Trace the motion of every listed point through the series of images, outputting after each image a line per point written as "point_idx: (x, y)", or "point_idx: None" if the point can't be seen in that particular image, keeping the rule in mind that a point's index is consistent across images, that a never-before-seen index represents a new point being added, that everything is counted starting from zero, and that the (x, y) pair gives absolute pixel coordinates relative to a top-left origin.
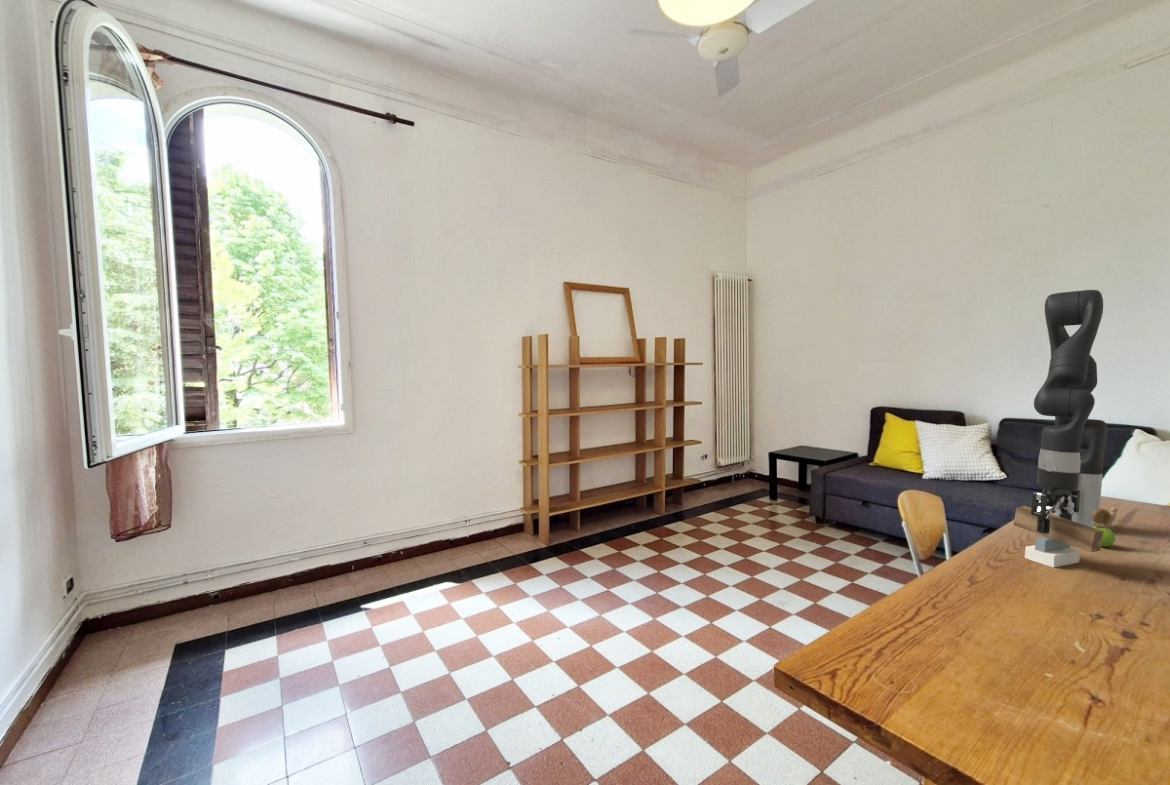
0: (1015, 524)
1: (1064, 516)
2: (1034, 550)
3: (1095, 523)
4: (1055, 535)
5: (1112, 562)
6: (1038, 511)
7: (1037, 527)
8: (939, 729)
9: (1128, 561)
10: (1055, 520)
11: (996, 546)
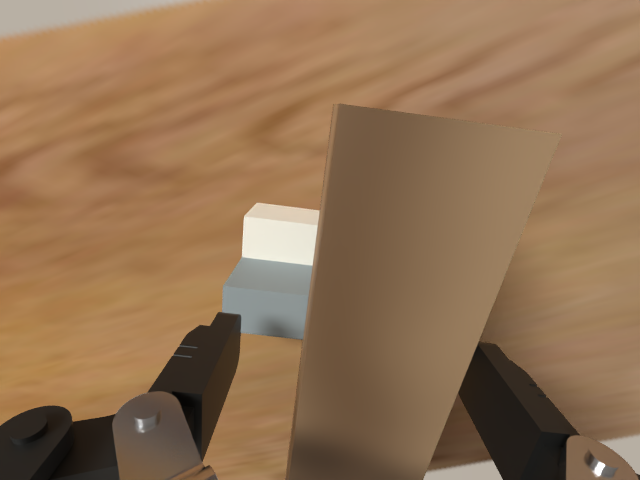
0: (331, 119)
1: (516, 450)
2: (243, 254)
3: None
4: (300, 363)
5: (531, 366)
6: (119, 464)
7: (186, 338)
8: None
9: (597, 385)
10: (294, 453)
11: (303, 50)
